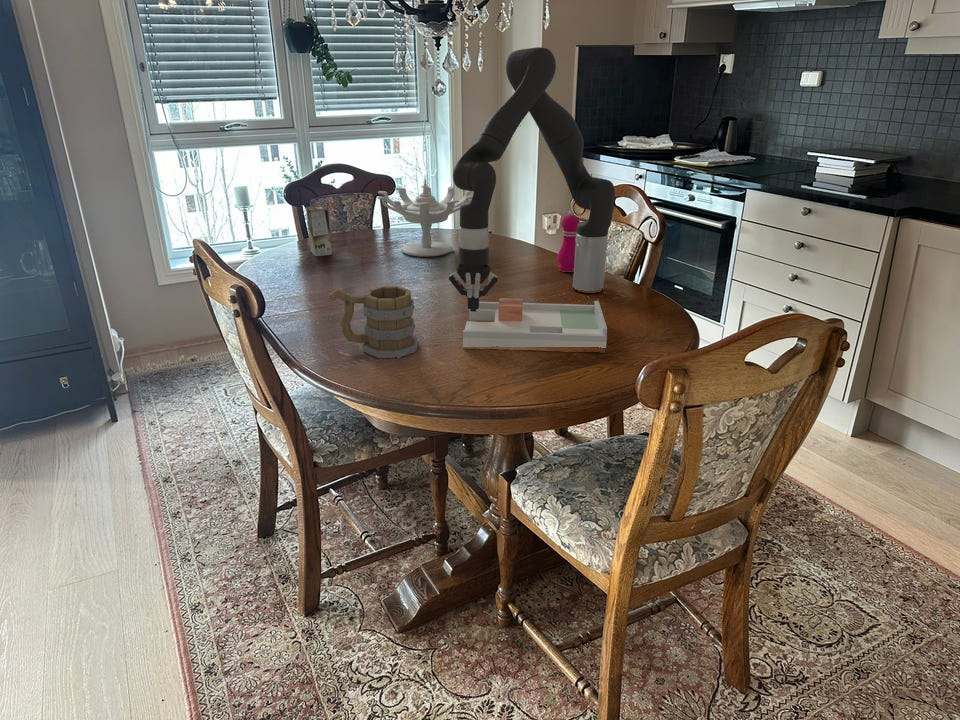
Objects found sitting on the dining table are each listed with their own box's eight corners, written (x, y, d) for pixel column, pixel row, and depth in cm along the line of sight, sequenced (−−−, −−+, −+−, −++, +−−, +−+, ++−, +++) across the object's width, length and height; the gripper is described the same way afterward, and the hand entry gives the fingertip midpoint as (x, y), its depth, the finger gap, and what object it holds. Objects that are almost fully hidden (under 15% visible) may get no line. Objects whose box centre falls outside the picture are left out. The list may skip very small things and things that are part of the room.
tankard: (418, 337, 164) (416, 280, 158) (415, 358, 152) (413, 297, 146) (338, 338, 163) (333, 280, 157) (329, 359, 152) (323, 297, 146)
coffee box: (332, 254, 235) (328, 209, 228) (314, 256, 232) (310, 211, 226) (326, 248, 242) (322, 205, 236) (309, 250, 240) (304, 206, 233)
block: (499, 312, 172) (499, 298, 171) (522, 313, 172) (522, 298, 170) (498, 320, 167) (498, 305, 165) (521, 321, 167) (522, 306, 165)
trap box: (470, 317, 178) (470, 296, 175) (596, 320, 176) (598, 299, 173) (462, 349, 158) (462, 325, 155) (605, 353, 156) (607, 330, 153)
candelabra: (383, 267, 221) (378, 184, 210) (377, 242, 252) (373, 169, 241) (482, 262, 227) (482, 182, 216) (464, 238, 259) (464, 167, 247)
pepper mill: (561, 274, 215) (565, 213, 207) (553, 268, 221) (556, 208, 213) (581, 273, 217) (586, 212, 208) (573, 267, 223) (577, 207, 215)
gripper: (501, 241, 165) (499, 306, 172) (448, 240, 166) (449, 305, 173) (499, 249, 159) (498, 316, 166) (445, 247, 159) (446, 314, 166)
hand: (473, 310), depth 169 cm, fingers closed
